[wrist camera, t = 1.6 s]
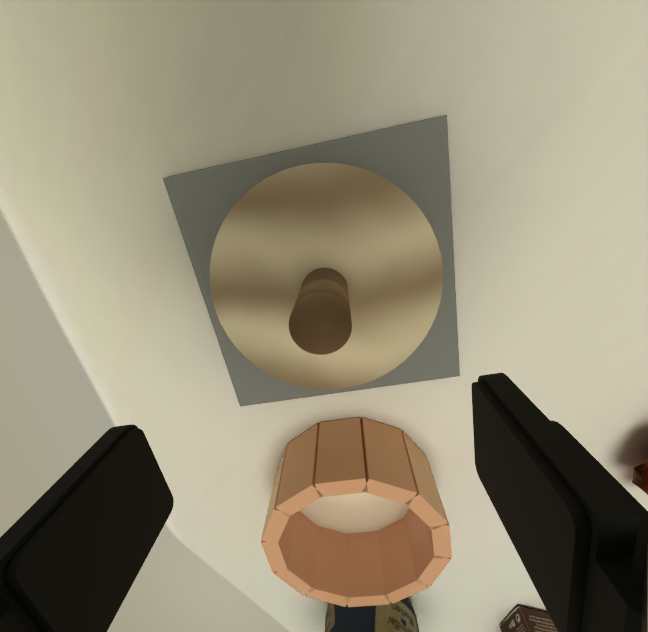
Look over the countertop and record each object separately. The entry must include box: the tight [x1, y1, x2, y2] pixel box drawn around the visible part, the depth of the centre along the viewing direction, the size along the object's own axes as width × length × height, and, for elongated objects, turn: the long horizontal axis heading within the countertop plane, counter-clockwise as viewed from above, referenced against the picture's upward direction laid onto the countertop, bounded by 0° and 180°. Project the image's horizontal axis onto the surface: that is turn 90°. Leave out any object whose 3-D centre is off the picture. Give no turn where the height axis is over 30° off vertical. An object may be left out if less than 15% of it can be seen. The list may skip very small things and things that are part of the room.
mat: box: [163, 115, 460, 406], centre depth 22 cm, size 17×17×1 cm
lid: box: [210, 163, 443, 389], centre depth 19 cm, size 15×15×7 cm
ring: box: [261, 417, 452, 607], centre depth 26 cm, size 13×13×6 cm
